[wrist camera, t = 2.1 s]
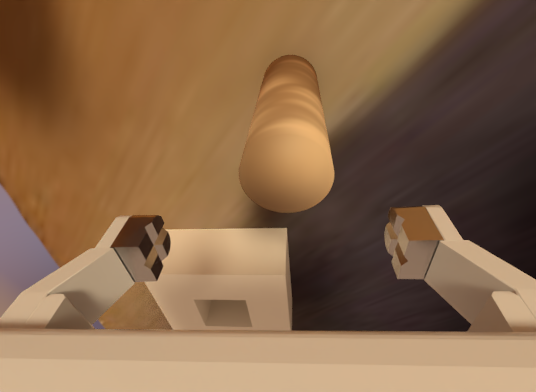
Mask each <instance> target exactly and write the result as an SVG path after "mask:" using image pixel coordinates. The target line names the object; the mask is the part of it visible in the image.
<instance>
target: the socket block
mask: <svg viewBox="0 0 536 392" xmlns="http://www.w3.org/2000/svg"><path fill="white" fill-rule="evenodd" d="M165 230H166V231H168V233H169V236H170V240H171V245H170V251H169V254H168V256H167V257H166V258H165V259H164V260H162V264H163V268H162V271H161V273H160V276H159V278H158V280H157V281H150V282H145V284H146V285H147V287H148V289H149V290H150V292H151V294H152V295H153V297H154V299H155V300H156V302H157V304H158V305H159V307H160V309H161V310H162V312H163V314H164V315H165V317H166V319H167V320H168V322H169V324H170V325H171V327H172V329H173V330H285V331H292V292H291V278H290V264H289V250H288V236H287V228H240V229H165Z"/></svg>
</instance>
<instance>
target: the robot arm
mask: <svg viewBox="0 0 536 392" xmlns="http://www.w3.org/2000/svg"><path fill="white" fill-rule="evenodd" d="M388 217H389V220H390V223H389V224H387V225H386V228H385V244H386V248H387V251H388V253H390V254H391V255H392V256H393V259H392V265H393V268H394V271H395V273H396V276H397V279H425V280H424V281H425V282H427V283H428V284H429V285H430V286H431V287H432V288H433V289H434V290H435V291H436V292H437V293H438V294H439V295H440V296H442V297H443V298H444V299H445V300H446V301H447V302H448V303H449V304H450V305H451V306H452V307H453V308H454V309H455V310H457V311H458V312H459V313H460V314H461V315H462V316H463V317H464V318H465V319H466V320H467V321H468V322H469V323H470V324H472V325H471V327H470V328H469V330H468V331H467V332H442V331H285V330H146V329H95V328H94V327H93V326H92V324H93V323H94V322H95V321H96V320H97V319H98V318H99V317H100V316H101V315H102V314H104V313H105V312H106V311H107V310H108V309H109V308H110V307H111V306H112V305H113V304H114V303H115V302H116V301H117V300H118V299H119V298H120V297H121V296H122V295H123V294H124V293H125V292H126V291H127V290H128V289H129V288H130V287H131V286H132V285H133V284H134V282H150V281H157V280H158V278H159V276H160V273H161V271H162V268H163V264H162V260H164V259H165V258H166V257H167V256H168V254H169V251H170V245H171V240H170V236H169V233H168V231H166V230H165V229H163V228H162V227H163V225H164V222H163V219H162V217H161V216H159V215H133V216H119V217H117V218H115V220H114V221H113V223H112V224H111V226H110V227H109V228H108V230H107V231H106V233H105V234H104V236H103V237H102V238H101V240H100V241H99V243H98V244H97V246H96V247H95V248H93V249H89V250H87V251H86V252H84V253H83V254H81V255H80V256H78V257H76V258H75V259H73V260H72V261H70V262H69V263H67V264H66V265H64V266H62V267H61V268H59V269H58V270H56V271H55V272H53V273H51V274H50V275H48V276H47V277H45V278H44V279H42V280H40V281H39V282H37V283H36V284H34V285H33V286H31V287H30V288H28V289H27V290H25V291H23V292H22V293H21V294H20V295H19V296H18V297H17V298H16V300H15V301H14V302H13V303H12V305H11V306H10V307H9V308H8V309H7V311H6V312H5V313H4V314H3V315H2V317H1V318H0V392H536V279H534V278H532V277H530V276H529V275H527V274H525V273H524V272H522V271H520V270H519V269H517V268H515V267H513V266H512V265H510V264H508V263H507V262H505V261H503V260H501V259H500V258H498V257H496V256H495V255H493V254H491V253H489V252H488V251H486V250H484V249H483V248H481V247H479V246H478V245H476V244H474V243H472V242H471V241H469V240H463V239H462V237H461V236H460V234H459V233H458V231H457V230H456V228H455V227H454V225H453V224H452V222H451V221H450V219H449V218H448V216H447V215H446V213H445V212H444V210H443V208H442V207H441V206H439V205H428V206H412V207H391V209H390V210H389V214H388Z"/></svg>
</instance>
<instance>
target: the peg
mask: <svg viewBox="0 0 536 392" xmlns="http://www.w3.org/2000/svg"><path fill="white" fill-rule="evenodd" d="M239 180H240V183H241V186H242V188H243V190H244V192H245V193H246V194H247V196H248V197H249V198H250V199H251V200H252V201H254V202H255V203H256V204H258V205H259V206H261V207H263V208H265V209H268V210H271V211H275V212H282V213H292V212H299V211H303V210H306V209H309V208H311V207H313V206H315V205H316V204H318V203H319V202H320V201H322V200H323V199H324V198H325V196H326V195H327V194H328V193H329V191H330V189H331V187H332V184H333V181H334V167H333V162H332V157H331V151H330V146H329V140H328V135H327V130H326V124H325V119H324V113H323V108H322V103H321V97H320V92H319V86H318V81H317V75H316V72H315V70H314V68H313V66H312V65H311V64H310V63H309V62H308V61H307V60H306V59H304V58H302V57H300V56H296V55H286V56H282V57H280V58H278V59H276V60H274V61H273V62H272V63H271V64H270V65H269V67H268V68H267V70H266V72H265V75H264V78H263V82H262V85H261V89H260V93H259V96H258V100H257V104H256V107H255V111H254V115H253V118H252V122H251V126H250V129H249V133H248V137H247V140H246V144H245V148H244V151H243V155H242V159H241V162H240V167H239Z"/></svg>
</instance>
